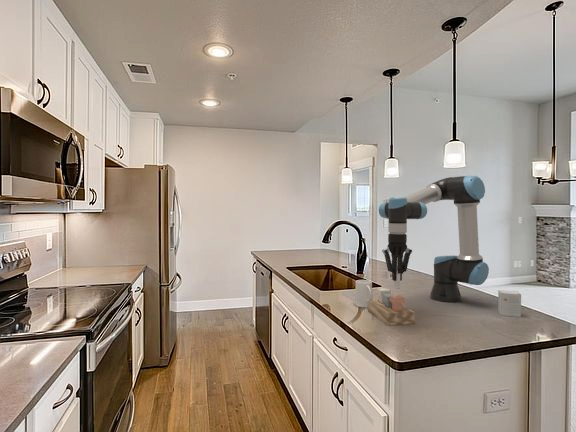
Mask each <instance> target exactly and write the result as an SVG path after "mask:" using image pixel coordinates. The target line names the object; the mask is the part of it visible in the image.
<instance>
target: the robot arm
mask: <svg viewBox="0 0 576 432" xmlns="http://www.w3.org/2000/svg"><path fill="white" fill-rule="evenodd" d="M485 187H486V186H485V183H484V181H483V179H481V177H479V176H477V175H465V176H464V175H463V176H453V177H452V176H450V177H445V178H442V179H439V180H437V181H434V182H432V183H429V184H428V185H426V186H425V188H422V189H419V190H418V191H415V192H413V193H411V194H408V195H406V196H404V197H403V196H398V197H394V196H393V197H390V198H389V199H388V202H387V201H386V202H382V203H381V204H380V205H379V207H378V215H379V216H380V217H381V218H383V219H388V225H387V227H388V228H387V229H388V234H387V236H388V237H387V242H388V244H387V246H386V248H385V249H382V253H383V256H384V259H385V263H386V268H387V271H388V272H390V273H391V280H392V281H393V288H394V289H396V290H401V281H402V280H403V274H404V273H405V272H407V270H408V266H409V261H410V256H411V254H412V253H413V249H412V248H411V249H410V248H409V247H408V245H407V242H408V241H407V240H408V239H407V237H408V236H407V234H406V233H407V232H408V227H407V224H408V223H407V222H408V221H407V220H422V219H424V218H425V217H426V216H427V214H428V207H427V204H429V203H432V202H433V203H436V202H439V201H446V200H447V201H453V205H455V207H457V222H458V223H457V225H458V227H457V228H458V244H459V254H458V255H438V256H435V257H434V260H433V286H432V288H431V291H430V295H429V297H430V299H433V300H434V301H439V302H445V303H456V302H460V301H462V294H461V291H460V288H459V286H458V285H459V284H458V283H462V284H463V283H464V284H468V285H471V286H473V285H475V286H480V285H483V284H484V283H485V282H486V280H487V279H488V276H489V271H490V270H489V269H490V268H489V265H488V263H486V262H485V261H484V260H483V259H484V258H483V256H482V255H480V249H479V247H480V246H479V227H478V226H479V225H478V205H480V203H481V200H483V198H484V197H485V194H486V188H485Z"/></svg>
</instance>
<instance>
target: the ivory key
mask: <svg viewBox="0 0 576 432" xmlns="http://www.w3.org/2000/svg"><path fill="white" fill-rule="evenodd" d="M383 294H392V290H391V289H388V288H387V287H383V288H382V287H380V288H376V295H378V300H379V302H380V303H381V304H384V303H385V301H384V300H383Z"/></svg>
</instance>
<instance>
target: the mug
mask: <svg viewBox="0 0 576 432" xmlns="http://www.w3.org/2000/svg"><path fill="white" fill-rule="evenodd" d="M368 301H373V281H372V280H369V279H368V280H365V279H358V280H355V303H354V305H355V307H356V306H357V307H359V308H368Z"/></svg>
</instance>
